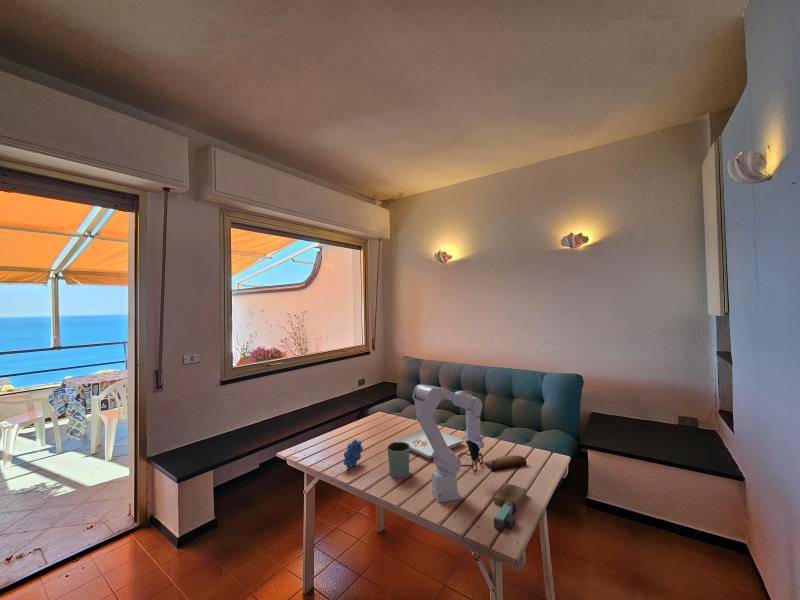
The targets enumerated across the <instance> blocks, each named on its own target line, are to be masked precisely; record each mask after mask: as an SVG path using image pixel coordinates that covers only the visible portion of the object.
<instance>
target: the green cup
mask: <svg viewBox="0 0 800 600" xmlns="http://www.w3.org/2000/svg"><path fill="white" fill-rule="evenodd" d="M386 449H387V457H388V470H389V476H390V475H391V476H392V477H391V476H390V477H391V478H393V477H395V478H394V479H398V478H400V479H405V478H407V477H408V476H409V474H410V454H411V452H410V451H411V450H410V445H409V444H408V443H405V442H394V441H393V442H390V443H389V444H388V445H387V448H386ZM406 476H407V477H406ZM404 477H405V478H404Z"/></svg>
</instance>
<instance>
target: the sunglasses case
mask: <svg viewBox="0 0 800 600" xmlns="http://www.w3.org/2000/svg"><path fill="white" fill-rule="evenodd" d="M483 465H485V466H486V468H488V469H489V470H490V471H491V472H494V471H498V470H501V469H504V468H512V467H516V466H523V465H524V466H527V459H526V458H525V456H522V455H507V456H505V455H504V456H501V457H500V456H499V457H497V458H494V459H490V460H488V461H485V462H483Z"/></svg>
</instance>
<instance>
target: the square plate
mask: <svg viewBox="0 0 800 600" xmlns="http://www.w3.org/2000/svg"><path fill="white" fill-rule="evenodd" d="M440 432H441V434H442V436H443V438H444V440H445V442H446V444H447V446H448V448H449V449H450V450H452V449H453V448H455V447H458V446H459V445H461V444H462V443H463V442H464V441H465V440H464V439H463V438H460V437H457V436H454V435H452V434H449V433H446V432H442V431H440ZM417 439H419V440H421V441H420V442H419V444H418V443H417V442H416V444H415V443H414V444H413V443H412V442H413V441H415V440H417ZM419 440H418V441H419ZM422 441H423V442H424V441H426V442H428V443H427V445H426V446H425V447H424V446H420V445H422V444H421V442H422ZM393 442H405V443H408V444H409V445H410V451H411V452H414V453H416V454H418V455H420V456H422V457H425V458H427V459H432V458H433V455H432V453H433V451H434V450H433V448H432V446H431V444H430V443H429V440H428V438H427V436H426V434H425V432H424V430H423V429H422V428H421V429H418V430H416V431H412V432H410V433H408V434H405V435H403V436H400V437H398V438H394V439H393ZM426 442H425V443H426ZM417 444H418V445H417ZM415 445H417V446H416V447H415Z"/></svg>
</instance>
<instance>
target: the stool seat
mask: <svg viewBox="0 0 800 600" xmlns="http://www.w3.org/2000/svg"><path fill="white" fill-rule="evenodd" d="M526 497H527V489H526V488H524V487H522V486H518V485H515V484H510V483H507V482H504V483H503V484H502V486H501V487H500V489H499V490H498V491H497V493H496V494H495V495H494V496H493V502H494V503H493V504H494V505H497V506H501V507H503V505H504V504H505V502H506V501H510V502H512V503H513V512H514V511H515V512H518V509H519V508H520V506H521V504H522V503H523V502H524V499H525V498H526ZM515 525H516V516H515V515H513V514H508V516H507V517H506V519H505V526H504V528H505V529H508V530H510V531H511V530H513V528H514V526H515Z"/></svg>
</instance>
